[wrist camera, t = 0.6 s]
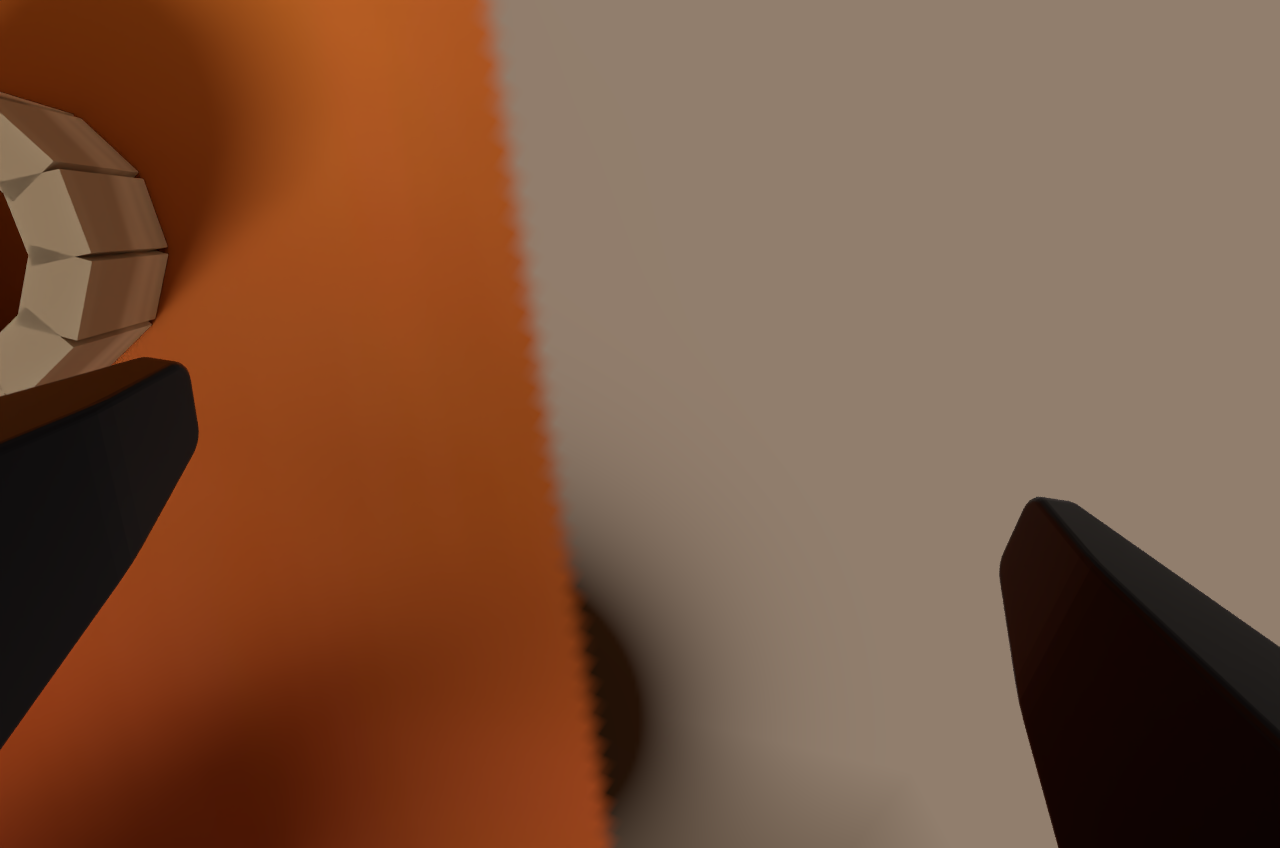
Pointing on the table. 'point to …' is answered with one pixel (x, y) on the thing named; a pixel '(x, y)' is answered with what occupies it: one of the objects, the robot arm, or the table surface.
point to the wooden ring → (74, 247)
